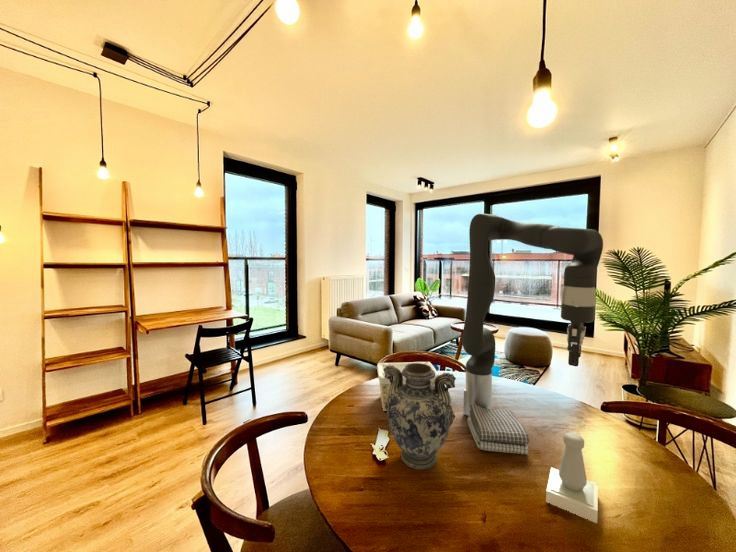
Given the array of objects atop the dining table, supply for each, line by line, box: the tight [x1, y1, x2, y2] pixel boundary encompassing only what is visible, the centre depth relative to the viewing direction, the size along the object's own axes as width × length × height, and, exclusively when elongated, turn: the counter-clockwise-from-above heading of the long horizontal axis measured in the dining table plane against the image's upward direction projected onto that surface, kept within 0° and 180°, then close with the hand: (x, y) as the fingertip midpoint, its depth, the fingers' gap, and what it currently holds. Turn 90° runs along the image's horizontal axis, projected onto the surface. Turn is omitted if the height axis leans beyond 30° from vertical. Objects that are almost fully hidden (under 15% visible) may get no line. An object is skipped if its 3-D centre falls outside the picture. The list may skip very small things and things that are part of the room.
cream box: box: [376, 361, 440, 412], centre depth 124 cm, size 24×16×15 cm
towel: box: [466, 404, 530, 455], centre depth 100 cm, size 15×18×8 cm
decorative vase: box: [384, 363, 456, 471], centre depth 90 cm, size 21×19×28 cm
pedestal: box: [545, 467, 599, 524], centre depth 75 cm, size 10×10×3 cm
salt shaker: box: [558, 431, 588, 492], centre depth 74 cm, size 6×6×13 cm
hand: (574, 360), depth 83 cm, fingers open, 8 cm apart
